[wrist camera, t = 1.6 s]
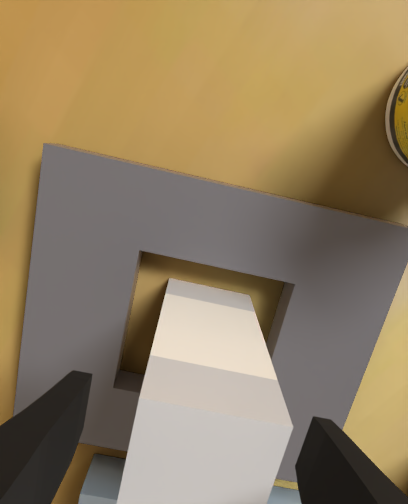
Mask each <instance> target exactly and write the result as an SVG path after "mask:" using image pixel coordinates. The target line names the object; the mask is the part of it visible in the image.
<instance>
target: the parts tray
mask: <svg viewBox="0 0 408 504" xmlns="http://www.w3.org/2000/svg"><path fill="white" fill-rule="evenodd" d="M125 462H126V459H122V458H116V457H111V456H105V455H100V454H94V456H93V459H92V462H91V464H90V467H89V470H88V473H87V476H86V478H85V481H84V484H83V487H82V490H81V493H80V497H79V503H78V504H117V500H118V495H119V490H120V485H121V481H122V476H123V471H124V467H125ZM267 504H301V500H300V494H299V490H294V489H288V488H283V487H277V486H273V487H272V490H271V493H270V496H269V498H268V501H267Z"/></svg>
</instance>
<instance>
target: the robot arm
mask: <svg viewBox="0 0 408 504" xmlns="http://www.w3.org/2000/svg"><path fill="white" fill-rule="evenodd" d="M92 375H93V374H91V373H86V372H81V371H75V370H73V371H71V372H69V373H68V374H67V375H66V376H65V377H64V378H62V379H61V380H60V381H59V382H58V383H57V384H55V385H54V386H53V387H52V388H51V389H49V390H48V391H47V392H46V393H44V394H43V395H42V396H41V397H39V398H38V399H37V400H35V401H34V402H33V403H32V404H30V405H29V406H28V407H26V408H25V409H24V410H22V411H21V412H20V413H18V414H17V415H15V416H14V417H12V418H11V419H9V420H8V421H6V422H5V423H4V424H2V425H1V426H0V504H51V502H52V500H53V498H54V496H55V494H56V492H57V490H58V488H59V486H60V484H61V482H62V480H63V478H64V475H65V473H66V471H67V469H68V467H69V465H70V463H71V461H72V458H73V456H74V453H75V450H76V447H77V445H78V442H79V439H80V436H81V434H82V431H83V428H84V422H85V416H86V410H87V405H88V399H89V393H90V387H91V381H92ZM295 470H296V476H297V483H298V489H299V494H300V500H301V504H408V497H407V496H406V495H405V494H404V493H403V492H402V491H401V490H400V489H399V488H398V487H397V486H396V485H395V484H394V483H393V482H392V481H391V480H390V479H389V478H388V477H387V476H386V475H385V474H384V473H383V472H382V471H381V470H380V469H379V468H378V467H377V466H376V465H375V464H374V463H373V462H372V461H371V460H370V459H369V458H368V457H367V456H366V455H365V454H364V453H363V452H362V451H361V449H360V448H359V447H358V446H357V445H356V444H355V443H354V442H353V441H352V440H351V439H350V438H349V437H348V436H347V435H346V434H345V433H344V432H343V431H342V430H341V429H340V428H339V427H338V426H337V425H336V424H335V423H334V422H333V421H332V420H331V419H326V418H321V417H316V416H313V418H312V420H311V423H310V426H309V429H308V432H307V434H306V437H305V440H304V443H303V445H302V448H301V451H300V454H299V456H298V459H297V462H296V465H295Z"/></svg>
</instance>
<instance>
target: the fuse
mask: <svg viewBox="0 0 408 504" xmlns="http://www.w3.org/2000/svg"><path fill="white" fill-rule="evenodd" d="M292 430H293V425H292V422H291V419H290V416H289V413H288V410H287V407H286V404H285V401H284V398H283V395H282V392H281V389H280V386H279V383H278V380H277V377H276V374H275V371H274V368H273V365H272V362H271V358H270V355H269V352H268V349H267V346H266V343H265V340H264V337H263V334H262V331H261V328H260V325H259V322H258V319H257V316H256V313H255V310H254V307H253V304H252V301H251V298H250V295H247V294H243V293H238V292H233V291H229V290H224V289H219V288H215V287H210V286H205V285H200V284H196V283H191V282H186V281H182V280H177V279H172V278H169V281H168V285H167V289H166V293H165V297H164V301H163V305H162V309H161V313H160V317H159V321H158V325H157V329H156V333H155V337H154V341H153V345H152V349H151V353H150V357H149V361H148V365H147V369H146V373H145V377H144V381H143V385H142V389H141V393H140V396H139V401H138V406H137V410H136V415H135V420H134V424H133V429H132V434H131V438H130V443H129V448H128V453H127V457H126V462H125V467H124V471H123V476H122V481H121V485H120V490H119V495H118V500H117V504H267V501H268V498H269V496H270V493H271V490H272V487H273V484H274V481H275V478H276V475H277V473H278V470H279V467H280V464H281V461H282V458H283V455H284V452H285V450H286V447H287V444H288V441H289V438H290V435H291V432H292Z"/></svg>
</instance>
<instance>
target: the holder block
mask: <svg viewBox="0 0 408 504" xmlns="http://www.w3.org/2000/svg"><path fill="white" fill-rule="evenodd" d="M143 251H145V252H150V253H155V254H159V255H164V256H168V257H173V258H178V259H182V260H187V261H191V262H196V263H201V264H205V265H210V266H214V267H219V268H224V269H228V270H233V271H237V272H242V273H247V274H251V275H256V276H260V277H265V278H270V279H274V280H279V281H283V282H285V283H284V287H283V290H282V293H281V296H280V300H279V303H278V306H277V310H276V313H275V316H274V320H273V323H272V326H271V329H270V333H269V336H268V339H267V343H266V346H267V349H268V352H269V355H270V358H271V362H272V365H273V368H274V371H275V374H276V377H277V380H278V383H279V386H280V389H281V392H282V395H283V398H284V401H285V404H286V407H287V410H288V413H289V416H290V419H291V422H292V425H293V430H292V432H291V435H290V438H289V441H288V444H287V447H286V450H285V452H284V455H283V458H282V461H281V464H280V467H279V470H278V473H277V475H276V479H281V480H287V481H292V482H297V476H296V470H295V465H296V462H297V459H298V456H299V454H300V451H301V448H302V445H303V443H304V440H305V437H306V434H307V432H308V429H309V426H310V423H311V420H312V418H313V416H316V417H321V418H326V419H331V420H332V421H333V422H334V423H335V424H336V425H337V426H338V427H339V428H340V429H341V430H342V429H343V427H344V424H345V421H346V419H347V416H348V414H349V411H350V409H351V406H352V403H353V401H354V398H355V396H356V393H357V391H358V388H359V386H360V383H361V380H362V378H363V375H364V373H365V370H366V368H367V365H368V362H369V360H370V357H371V355H372V352H373V350H374V347H375V344H376V342H377V339H378V337H379V334H380V332H381V329H382V326H383V324H384V321H385V319H386V316H387V314H388V311H389V308H390V306H391V303H392V301H393V298H394V296H395V293H396V291H397V288H398V285H399V283H400V280H401V278H402V275H403V273H404V270H405V267H406V265H407V262H408V226H406V225H403V224H399V223H395V222H391V221H386V220H382V219H378V218H373V217H369V216H365V215H361V214H356V213H352V212H348V211H343V210H339V209H335V208H331V207H326V206H322V205H318V204H313V203H309V202H305V201H301V200H296V199H292V198H288V197H283V196H279V195H275V194H271V193H266V192H262V191H258V190H253V189H249V188H245V187H240V186H236V185H232V184H228V183H223V182H219V181H215V180H210V179H206V178H202V177H198V176H193V175H189V174H185V173H180V172H176V171H172V170H168V169H163V168H159V167H155V166H150V165H146V164H142V163H138V162H133V161H129V160H125V159H120V158H116V157H112V156H108V155H103V154H99V153H95V152H90V151H86V150H82V149H77V148H73V147H69V146H65V145H60V144H50V143H44V144H43V153H42V162H41V171H40V180H39V189H38V198H37V207H36V216H35V225H34V234H33V243H32V252H31V261H30V270H29V279H28V288H27V297H26V306H25V315H24V324H23V333H22V342H21V350H20V359H19V368H18V377H17V386H16V395H15V404H14V413H13V417H14V416H15V415H17V414H18V413H20V412H21V411H22V410H24V409H25V408H26V407H28V406H29V405H30V404H32V403H33V402H34V401H35V400H37V399H38V398H39V397H41V396H42V395H43V394H44V393H46V392H47V391H48V390H49V389H51V388H52V387H53V386H54V385H55V384H57V383H58V382H59V381H60V380H61V379H62V378H64V377H65V376H66V375H67V374H68V373H69V372H71V371H73V370H75V371H81V372H86V373H91V374H93V375H92V381H91V387H90V393H89V399H88V405H87V410H86V416H85V422H84V428H83V431H82V434H81V436H80V439H79V442H78V443H83V444H89V445H94V446H100V447H105V448H111V449H116V450H122V451H127V452H128V448H129V443H130V438H131V434H132V429H133V424H134V420H135V415H136V410H137V406H138V401H139V396H140V393H141V389H142V385H143V381H144V377H145V375H142V374H137V373H132V372H127V371H122V370H120V366H121V361H122V356H123V350H124V345H125V340H126V335H127V330H128V324H129V319H130V314H131V309H132V304H133V299H134V293H135V288H136V283H137V278H138V273H139V267H140V262H141V257H142V252H143Z"/></svg>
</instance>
